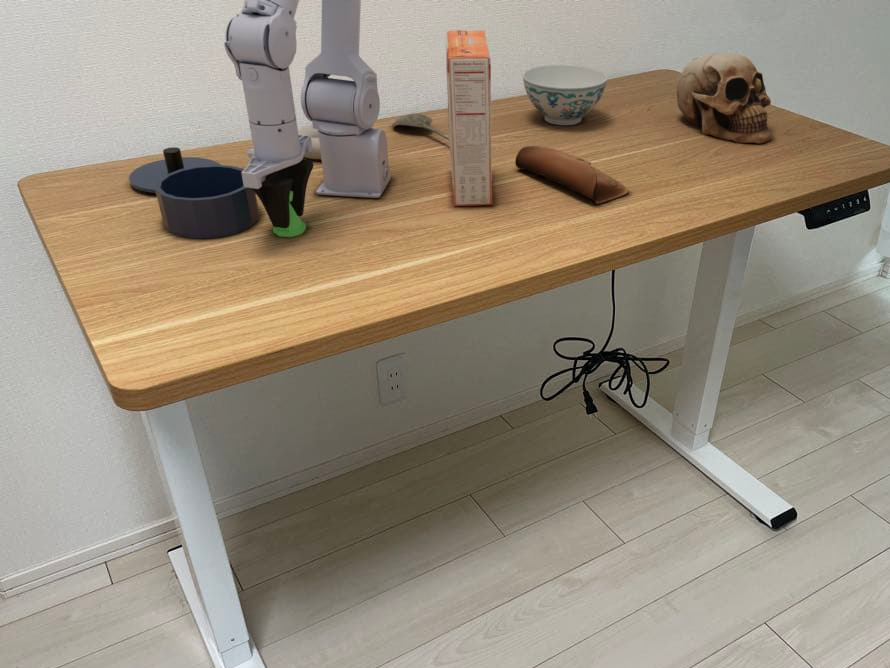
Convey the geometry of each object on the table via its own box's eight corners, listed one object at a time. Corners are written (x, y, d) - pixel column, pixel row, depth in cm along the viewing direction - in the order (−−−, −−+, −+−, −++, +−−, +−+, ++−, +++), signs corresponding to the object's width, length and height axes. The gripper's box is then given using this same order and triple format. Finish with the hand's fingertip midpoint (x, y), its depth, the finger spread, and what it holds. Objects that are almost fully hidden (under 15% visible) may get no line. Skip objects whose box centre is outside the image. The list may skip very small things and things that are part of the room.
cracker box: (449, 171, 132) (444, 29, 120) (488, 171, 133) (487, 29, 120) (451, 207, 121) (445, 54, 109) (493, 207, 122) (492, 54, 109)
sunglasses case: (633, 189, 127) (621, 156, 121) (603, 222, 125) (589, 190, 120) (553, 155, 138) (538, 124, 132) (525, 185, 136) (509, 155, 131)
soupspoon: (418, 123, 153) (387, 132, 150) (416, 104, 151) (384, 113, 148) (488, 155, 138) (454, 164, 135) (486, 134, 136) (452, 144, 133)
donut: (282, 160, 135) (341, 165, 133) (278, 139, 133) (338, 143, 131) (307, 140, 143) (363, 144, 141) (304, 119, 141) (361, 123, 139)
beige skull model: (771, 145, 145) (777, 62, 138) (669, 145, 149) (670, 65, 142) (772, 120, 157) (779, 44, 150) (679, 121, 162) (680, 46, 155)
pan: (258, 198, 122) (252, 161, 119) (259, 234, 113) (252, 195, 110) (168, 205, 120) (159, 168, 116) (161, 242, 110) (151, 203, 107)
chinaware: (606, 134, 148) (610, 88, 144) (521, 131, 148) (522, 86, 144) (601, 107, 160) (604, 65, 156) (522, 105, 160) (523, 63, 156)
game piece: (272, 225, 115) (265, 183, 111) (304, 222, 116) (298, 180, 112) (273, 238, 112) (266, 195, 108) (307, 235, 113) (301, 192, 109)
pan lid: (225, 161, 134) (220, 132, 131) (223, 193, 124) (217, 162, 121) (135, 167, 131) (127, 137, 128) (125, 200, 121) (117, 169, 118)
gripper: (272, 98, 111) (287, 196, 120) (211, 133, 100) (232, 238, 108) (321, 104, 110) (332, 202, 118) (265, 139, 99) (282, 246, 107)
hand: (288, 220), depth 113 cm, fingers open, 3 cm apart
